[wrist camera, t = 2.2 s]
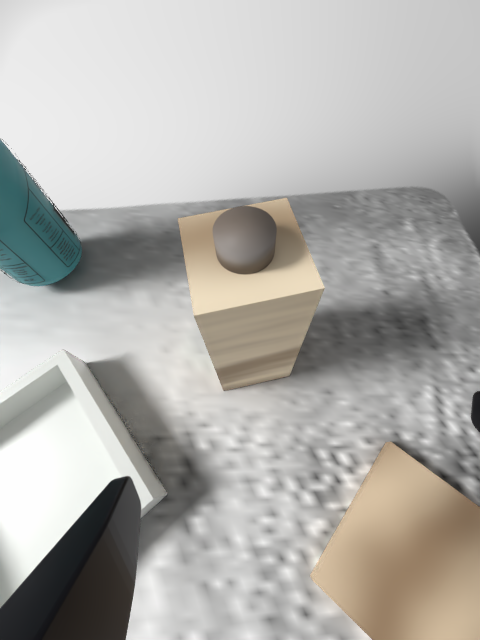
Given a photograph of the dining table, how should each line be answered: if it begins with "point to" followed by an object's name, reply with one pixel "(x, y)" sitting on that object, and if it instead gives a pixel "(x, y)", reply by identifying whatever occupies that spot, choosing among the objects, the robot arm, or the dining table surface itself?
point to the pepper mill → (250, 289)
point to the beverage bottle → (32, 229)
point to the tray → (58, 461)
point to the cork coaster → (406, 555)
